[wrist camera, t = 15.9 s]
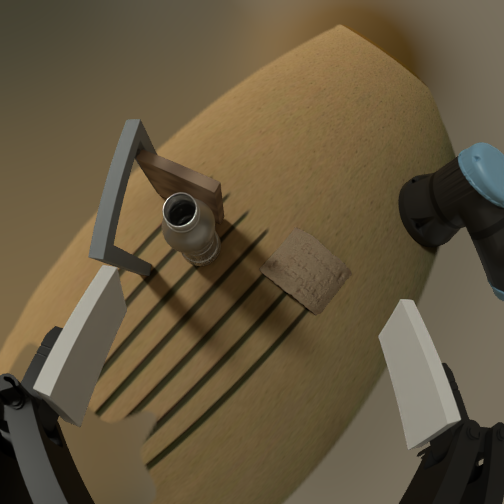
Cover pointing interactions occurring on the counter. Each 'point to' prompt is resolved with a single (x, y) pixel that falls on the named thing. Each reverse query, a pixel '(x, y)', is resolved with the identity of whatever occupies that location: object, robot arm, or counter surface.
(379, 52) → the counter surface
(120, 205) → the door frame
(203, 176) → the door
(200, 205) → the silver metal bottle
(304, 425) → the counter surface
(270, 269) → the clay tablet
